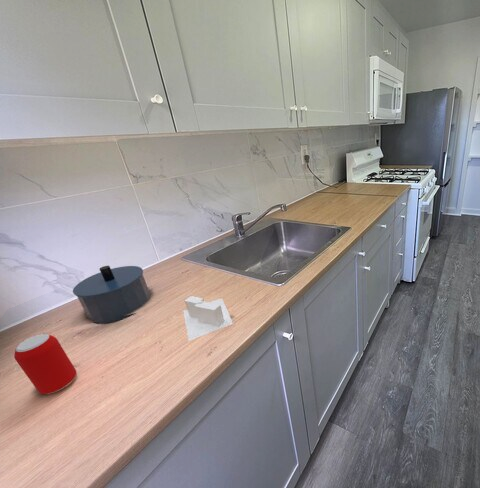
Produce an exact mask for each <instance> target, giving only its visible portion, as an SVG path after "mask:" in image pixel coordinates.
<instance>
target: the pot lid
mask: <svg viewBox="0 0 480 488" xmlns="http://www.w3.org/2000/svg"><path fill="white" fill-rule="evenodd" d="M142 274H143V275H144V270H143V268H142V267H140V266H137V265H126V266H125V265H124V266H117V267H113V268H111V266H110V265H103V266H101V267H99V272H98V273H95V274H92V275H91V276H89V277H86V278H84V279H83V280H81V281H80V282H78V283H77V284H76V285H75V286H74V287H73V288H72V293H73V295H74V296H75V297H77V296H78V297H94V296H100V295H104V294H108V293H111V292H114V291H117V290H119V289H122V288H124V287H126V286H128V285H130V284H132V283H133V282H135V281H136V280H138V279H139V278H140V277H141V276H142ZM78 297H77V298H78Z"/></svg>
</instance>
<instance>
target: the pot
mask: <svg viewBox="0 0 480 488" xmlns="http://www.w3.org/2000/svg"><path fill="white" fill-rule="evenodd" d="M76 297H77V299H78V302H79V303H80V305H81V307H82V308H83V311H84V313H85V315H86V317H87V318H88V319H90V320H91V321H94V322H92V323H93V324H96V325H107V324H112V323H116V322H120V321H123V320H125V319H128V318H130V317H132V316H134V315H136V314H137V312H135V311H136V310H137V309H140V308H141V307H143V306H144V305H145V304H146V303H148V301H149V299H150V297H151V293H150V290H149V288H148V285H147V283H146V280H145V277H144V273H143V274H142V276H141V277H140V278H139V279H138V280H136V281H135V282H133V283H132V284H130V285H128V286H126V287H124V288H122V289H119V290H117V291H114V292H111V293H108V294H104V295H100V296H94V297H78V296H76ZM133 312H134V313H133Z"/></svg>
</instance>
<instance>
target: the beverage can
mask: <svg viewBox="0 0 480 488" xmlns="http://www.w3.org/2000/svg"><path fill="white" fill-rule="evenodd" d="M13 356H14V357H13V358H14V359H15V362H17V364H18V366H19V367H20V368H21V370H22V371H23V372H24V374H25V375H26V377H27V379H28V380H29V381H30V382H31V383H32V385H33V386H34V388H35V389H36V391H37V392H38V393H39V394H41V395H50V394H54V393H56V392H59V391H61V390H63V389H65V388H66V387H67V386H69V385H70V384H71V383H72V382H73V381H74V380H75V379H76V377H77V370H76V368H75V366H74V365H73V363H72V361H71V359H70V358H69V357H68V355H67V353H66V351H65V350H64V348H63V347H62V345H61V343H60V342H59V339H58V338H57V337H56V336H54V335H52V334H48V333H40V334H35V335H33V336H31V337H28V338H26V339H25V340H22V341H21V342H20V343H19V344H18V345H17V346H16V347H15V350H14V355H13Z"/></svg>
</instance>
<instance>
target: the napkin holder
mask: <svg viewBox="0 0 480 488" xmlns="http://www.w3.org/2000/svg"><path fill="white" fill-rule="evenodd" d="M184 304H185V306H186V309H184V310H183V316H184V317H183V318H184V322H185V328H186V334H187V341H188V342H190V341H192V340H195V339H197V338H200V337H202V336H206V335H208V334H211V333H213V332H215V331H218V330H221V329H224V328H226V327H228V326H231V325H234V322H233V320H232V318H231V316H230V313H229V310H228V309H227V305H226V304H225V302H224V299H223V297H220V298H217V299H214V300H211V301H205V298H204V297H203V298H202V297H198V296H193V295H191V296H189V297H188V298H186V299H185V300H184Z"/></svg>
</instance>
